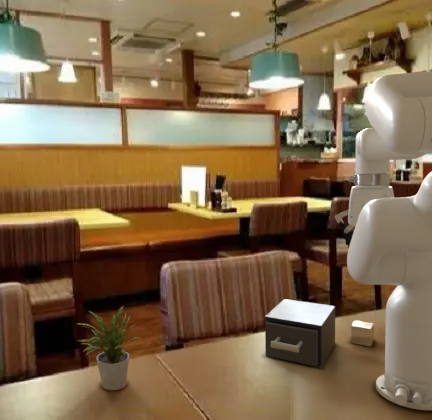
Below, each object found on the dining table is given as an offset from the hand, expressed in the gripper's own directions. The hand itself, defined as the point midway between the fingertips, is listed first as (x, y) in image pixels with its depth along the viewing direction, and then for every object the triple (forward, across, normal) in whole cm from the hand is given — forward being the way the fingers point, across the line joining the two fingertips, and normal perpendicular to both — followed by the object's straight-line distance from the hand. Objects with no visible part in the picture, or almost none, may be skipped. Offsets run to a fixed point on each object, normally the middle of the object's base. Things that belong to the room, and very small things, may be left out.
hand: (371, 249), depth 111 cm
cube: (+23, -1, -2) cm, 23 cm away
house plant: (+24, -43, -50) cm, 71 cm away
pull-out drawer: (+23, -13, -19) cm, 32 cm away
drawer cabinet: (+23, -13, -15) cm, 31 cm away
